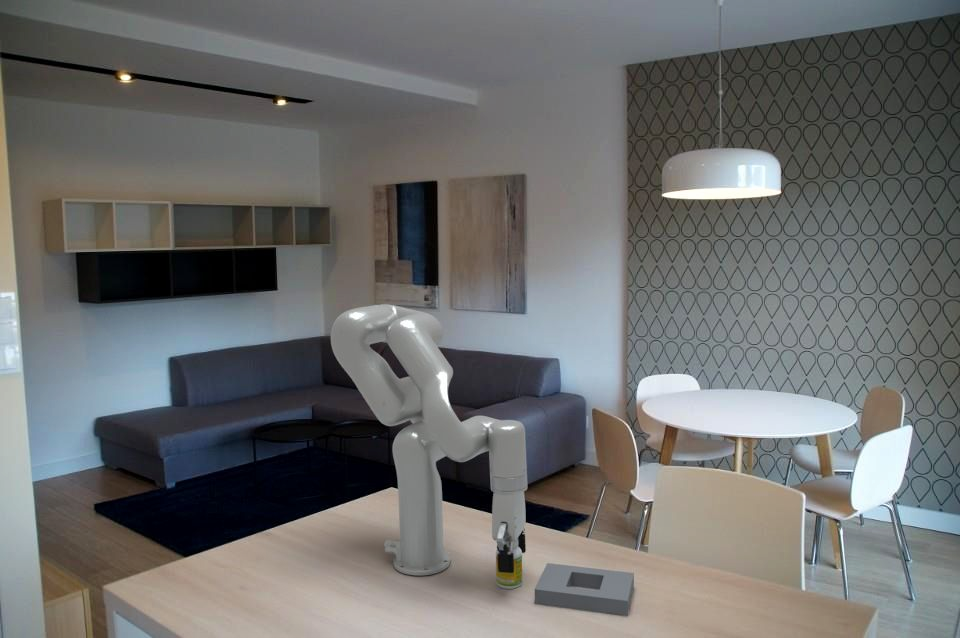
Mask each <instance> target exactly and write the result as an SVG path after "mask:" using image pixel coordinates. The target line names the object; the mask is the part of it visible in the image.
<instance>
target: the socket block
mask: <svg viewBox="0 0 960 638" xmlns="http://www.w3.org/2000/svg"><path fill="white" fill-rule="evenodd" d="M539 577H540V578H539V580H538V581H537V584H536V586H535V587H534V604H535V605H542V606H547V607H548V606H549V607H557V608H562V609H563V608H565V609H572V610H581V611H585V612H586V611H587V612H594V613H595V612H596V613H602V614H610V615H616V614H617V615H616V616H618V615H619V616H624V615H625V617H628V616H629V611H630V607H631V601H632V597H633V592H634V588H635V573H634V572H629V571H619V570H611V569H603V568H602V569H601V568H595V567H593V568H592V567H586V566H579V565H578V566H576V565H568V564H557V563H550V562H547V563H546V565H545V567H544V569H543V570H542V573H541V575H540V576H539Z"/></svg>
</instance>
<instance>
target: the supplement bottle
mask: <svg viewBox="0 0 960 638" xmlns="http://www.w3.org/2000/svg"><path fill="white" fill-rule="evenodd" d="M505 538H510V536H505ZM505 544H506V545H507V547H508V546H509V542H505ZM512 553H513V555H514V572H513V573H504V572H499V571H498V556H497V549H496V551H495V571H496V572H495V574H496V585H497V586H498V587H499V588H502V589H506V590H509V589H511V590H513V589H516V588H519V587H521V586H522V584H523V553H522V551H521V549H520V548H519V547H518V538H517V539H516V540H515V541H514V542H513V546H512Z"/></svg>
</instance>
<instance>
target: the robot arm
mask: <svg viewBox="0 0 960 638" xmlns="http://www.w3.org/2000/svg"><path fill="white" fill-rule="evenodd" d="M331 327H332V328H331V329H330V345H331V349H332V353H333V354H334V356H335V358H336V360H337V362H338V363H339V365H340V366H341V368H342V369H343V370H344V372H346V373H347V375H348V376H349V377H350V378H351V380H352V382H353V383H354V384H355V386H356V388H357V389H358V391H359V393H360V395H362V398H363V399H364V400H365V402H366V403H367V405H368V407H369V409H370V410H371V411H372V412H373V414H374V415H375V417H376V419H377V420H378V421H379V422H380V423H381V424H383V425H384V426H386V427H394V426H398V425H401V424H403V423H406V422H408V421H410V422H411V424H409V425H408V426H406V427H404V428H403V429H401V430H400V431H399V432H398V433H397V435H396V436H395V437H394V440H393V443H392V457H393V461H394V465H395V470H396V471H395V472H396V478H397V493H398V495H397V497H398V516H399V517H398V520H399V521H398V523H399V525H398V527H399V540H398V541H396V540H389V539H385V541H384V543H383V544H384V545H383V547H384V552H385V554H394V558H393V567H394V569H396V571H398V572H399V573H402V574H404V575H409V576H419V577H420V576H429V575H434V574H438V573H441V572H443V571H444V570H446V569H448V568H449V567H450V565H451V561H452V560H451V555H450V553H449V552H448V551H446V550H445V549H444V525H443V524H444V523H443V522H444V520H443V518H444V517H443V490H442V488H443V487H442V480H441V476H440V474H439V471H438V469H437V462H438V461H440V460H441V459H443V458H445V457H447V458H449V459H450V460H452V461H454V462H458V463H464V462H467V461H470V460H472V459H473V458H475V457H477V456H478V455H479V456H480V455H481V454H484V453H485V452H486V453H487V452H488V455H489V477H490V490H491V492H493V494H492V495H493V496H492V505H491V508H492V509H491V512H492V513H491V522H492V525H491V528H492V529H491V530H492V531H491V532H492V533H491V534H492V540H493V541H496V544H497V545H496V550H497V556H498V571H499V572H504V573H513V572H514V555H513V553H512V546H513V542H514V541H515V540H516V539H517V538H518V547H519V548H520V549H521V551H522V554H525V553H526V550H527V549H526V547H527V545H526V534H525V533H526V528H525V526H526V516H527V515H526V512H527V511H526V501H525V492H526V491H527V490H528V471H527V470H528V469H527V465H528V464H527V446H526V429H525V426H524V424H523V423H522V422H521V421H518V420H514V419H497V418H495V417H494V418H493V417H490V416H487V415H486V416H485V415H475V416H472V417H470V418H468V419H465V420H463V421H461V420H460V419H459V417H458V416H457V414H456V412H455V411H454V409H453V408H452V405H451V402H450V400H449V386H450V383H451V380H452V378H453V375H454V370H453V367H452V366H451V364H450V362H449V361H448V360H447V359H446V357H445V356H444V354H443V353H442V351H441V350H440V348H439V347H438V346H439V345H440V344H441V342H442V341H443V338H444V337H443V336H444V331H443V326H442V324H441V322H440V321H439V320H438V319H437V317H435V316H433V315H432V314H430V313H427V312H424V311H419V310H416V309H411V308H408V307H407V308H406V307H404V306H400V305H399V306H398V305H394V304H389V303H381V304H375V305H368V306H361V307H355V308H352V309H349V310H346V311H344V312H342V313H341V314H340V315H338V316H337V318H336V319H335V320H334V323H333V325H332V326H331ZM385 341H386V342H387V345H388V346H389V348H390V349H391V351H392V353H393V354H394V356H395V357H396V358H397V360H398V361H399V363H400V364H401V366H402V367H403V369H404V371H405V372H406V374H407V375H408V376H406V377H402V378H399V377H398V376H397V375H396V374H395V372H394V371H393V369H392V367H391V366H390V364H389V363H388V361H386V358H384V357H382V356H381V355H380V354H379V353H378V352H376V351H375V350H374V349H373V348H372V347H371V346H370V345H373V344H376V343H377V344H378V343H380V342H385ZM505 536H510V538H505ZM505 542H509V546H508V547H507V545H506V544H505Z"/></svg>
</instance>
